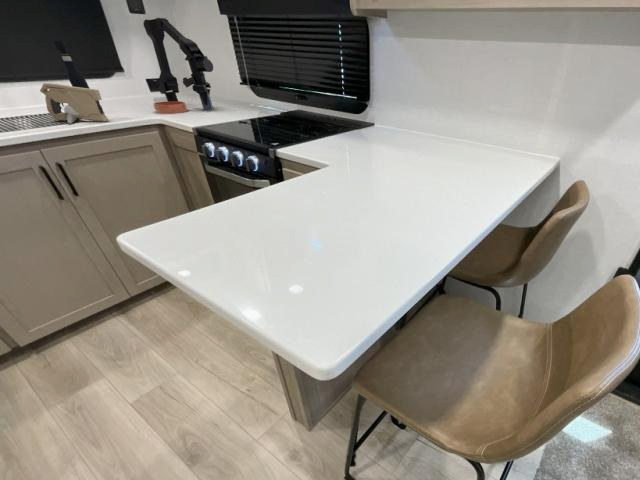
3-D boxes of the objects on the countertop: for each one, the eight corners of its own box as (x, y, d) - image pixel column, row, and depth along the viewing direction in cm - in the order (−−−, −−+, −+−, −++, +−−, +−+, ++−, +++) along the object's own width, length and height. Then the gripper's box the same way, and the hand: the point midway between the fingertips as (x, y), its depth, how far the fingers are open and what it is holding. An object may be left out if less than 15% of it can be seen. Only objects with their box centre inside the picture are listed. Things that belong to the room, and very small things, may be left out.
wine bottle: (83, 113, 171) (45, 40, 152) (96, 111, 175) (61, 40, 157) (91, 114, 169) (54, 40, 150) (104, 112, 173) (70, 41, 155)
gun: (51, 120, 153) (33, 82, 144) (57, 119, 155) (39, 81, 146) (107, 126, 155) (93, 89, 146) (112, 125, 158) (98, 89, 149)
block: (205, 109, 189) (200, 92, 184) (213, 108, 190) (208, 92, 185) (203, 110, 186) (198, 93, 181) (212, 110, 187) (207, 93, 182)
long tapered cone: (80, 113, 149) (77, 103, 159) (62, 116, 146) (61, 105, 157) (88, 126, 153) (85, 115, 163) (72, 129, 150) (70, 118, 161)
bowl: (160, 109, 185) (157, 101, 182) (190, 109, 188) (187, 100, 186) (152, 114, 173) (149, 105, 171) (184, 113, 177) (181, 104, 174)
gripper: (184, 70, 182) (194, 102, 191) (176, 72, 168) (188, 107, 177) (206, 70, 184) (215, 102, 194) (200, 72, 170) (210, 106, 180)
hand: (207, 104), depth 186 cm, fingers closed on block, 4 cm apart
